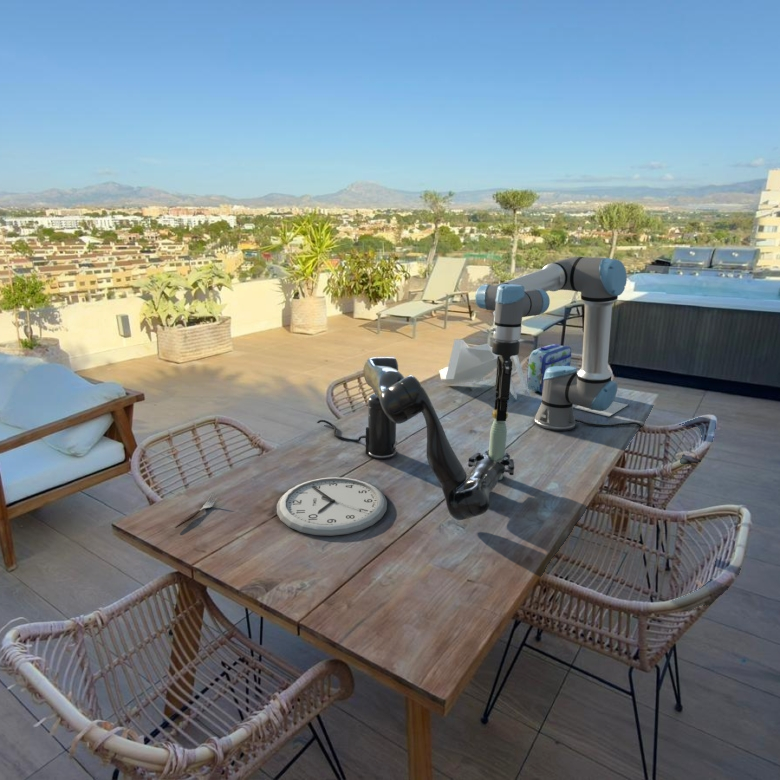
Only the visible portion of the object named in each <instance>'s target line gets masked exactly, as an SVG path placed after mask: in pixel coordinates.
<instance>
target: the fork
mask: <svg viewBox="0 0 780 780" xmlns="http://www.w3.org/2000/svg"><path fill="white" fill-rule="evenodd" d="M219 496H220V494H218V493H213V492H212V493H211V494H210V497H208V500H207V501H206V502H205V503H204V504H203V505H202V507H201V508H200V509H198V510H196V511H194V512H193V513H191V514H189V515H188V516H187V517H185V518H184V519H183V520H182V521H181V522H179V523H178V524H177V525H175V527H174V528H175V529H177V528H179V527H180V526H182V525H184V524H185V523H187V522H189V521H190V520H192V519H194V517H196V516H197V515H198V514H199V513H201V511H203V510H204V509H210V508H212V507H213V506H214V505H215V504H216V502H217V500H218V498H219Z"/></svg>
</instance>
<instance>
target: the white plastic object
mask: <svg viewBox="0 0 780 780" xmlns="http://www.w3.org/2000/svg"><path fill="white" fill-rule="evenodd" d="M492 315H493V319H495V311H492ZM498 356H500V355H496V354H494V353H493V352H492V347H491V346H490V344H489V343H488V342H487V343H483V344H479V345H473V346H469V345H468V343H466V342H465V340H464V339H463V338H460V339H458V338H454V340H453V344H452V349H451V353H450V357H449V362H448V366H446V367H444V368H442V369H440V370H439V371H438V372H439V376H440V381H442V383H443V384H444V385H445V386H449V385H458V384H467V383H468V384H469V383H473V384H477V383H480V382H482V381H484V378H485V377H486V376H487V375H489V374H490V373H492V372H494V371H495V370H497V357H498ZM510 359H511V360H512V361H513V363H514V366H515V369H516V372H517V376H518V380H519V382H520V385H521V389H522V391H523V393H524V395H525V396H526V397H528V396H531V395H530V390H529V389H528V387H527V380H526V378H525V375H524V371H523V369H522V368H523V367H522V366H521V362H520V359H519V354H518V355H515V356H511V357H510ZM516 391H517V390H516V388H515V385H514V381H513V378H512V377H511V381H510V394H511V395H512V397H513V398H514V399H515V400H517V392H516Z"/></svg>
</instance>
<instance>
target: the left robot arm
mask: <svg viewBox="0 0 780 780" xmlns="http://www.w3.org/2000/svg"><path fill="white" fill-rule="evenodd" d="M363 377H364V381H365V383H366V384H367V386H369V387H370V388H371V389H372V390H373V393H372V394H370V396H369V397H368V399H367V402H368V403H367V404H368V405H367V407H368V408H367V426H366V427H365V435H360V436H359V437H358V438H356V439H355V438H348V437H344V436H341V435H339V434H337V430H338V429H337V426H336V425H334V424H333V423H332V422H329V420H328V421H327V420H326V419H319V420H318V421H316V424H320V423H324V424H327V425H329V426H330V427H331V428H333V436H334V437H336V438H337V439H340V440H343V441H347V442H355V443H357V442H360V441H361V440H362V439H365V455H366V456H369V457H371V458H372V459H378V460H387V459H391V458H393V457H395V456H396V454H397V452H396V451H397V449H396V448H397V447H396V446H397V445H398V440H397V424H398V425H399V424H403V423H405V422H407V421H409V420H411V419H412V418H413V417H416V416H418V415H419V414H420V413H422V416H423V417H424V421H425V424H426V459H427V463H428V465H429V468H430V470H431V471H432V473H433V475H434V476H435V478H436V479H437V481H438V483H439V484H440V488H441V490H442V493H443V497H444V500H445V504H446V508H447V512H448V514H449V515H450V516H451V517H452V518H454V519H455V520H457V521H464V520H467V519H470V518H475V517H478V516H481V515H483V514H485V513H486V512H487V511H488V510H489V509H490V494H491V492H492V491H493V490H494V489H495V487H496V486H497V484H498V482H499V481H500V480H499V478H500V476H501V474H503V475H504V474H505V473H508V474H509V476H514V474H515V461H514V459H513V458H511V455H510V454H509V452H505V456H504V458H499V459H497V460H492V459H488V456H489V449H488V450H485V451H484V452H483V453H482V454H481V452H476V453H475V454H473V455H471V456H470V457H468V460H467V461H468V463H467V466H468V467H469V468H472V470H471V472H470V473H469V475H468V476H467V473H466V470H465V468H464V467H463V465H462V463H461V461H460V460H459V459H458V457H457V455H456V453H455V452H454V450H453V448H452V446H451V444H450V442H449V440H448V437H447V434H446V432H445V430H444V427H443V425H442V423H441V421H440V418H439V416H438V414H437V411H436V410H435V408H434V405H433V403H432V401H431V399H430V397H429V395H428V393H427V391H426V389H425V387H424V386H423V385H422V383H421V381H419V380H418V378H416V377H415V376H414V375H411V374H409V375H407V376H404V375H403V374H402V373H401V371H399V362H398V359H397V358H396V357H393V356H377V357H375V356H374V357H370V358H368V359H366V360H365V362H364V364H363ZM467 477H468V478H467ZM462 485H463V487H462V488H463V489H462V490H459V491H458V488H459V487H461V486H462Z"/></svg>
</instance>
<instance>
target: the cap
mask: <svg viewBox="0 0 780 780" xmlns="http://www.w3.org/2000/svg"><path fill="white" fill-rule="evenodd" d="M508 413H509V412H508V411H507V414H506V420H507V419H508V415H509V414H508ZM491 416H492V418H493V419H494V418H495V419H496V416H497V410H492V414H491Z"/></svg>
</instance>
